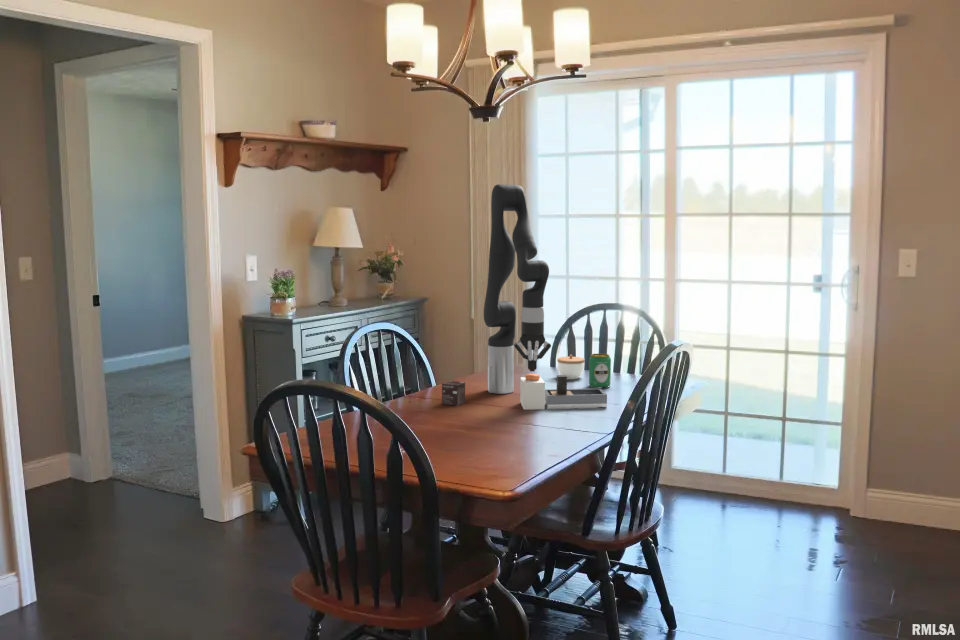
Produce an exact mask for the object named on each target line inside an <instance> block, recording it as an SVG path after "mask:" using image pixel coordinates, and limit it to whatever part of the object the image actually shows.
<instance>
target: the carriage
mask: <svg viewBox="0 0 960 640" xmlns="http://www.w3.org/2000/svg"><path fill="white" fill-rule="evenodd" d="M556 389H557V391H550V395H573V394H572V393H571V391H567V389H568V379H567V376H566V375H561V374H556Z"/></svg>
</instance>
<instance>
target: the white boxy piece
mask: <svg viewBox="0 0 960 640" xmlns="http://www.w3.org/2000/svg"><path fill="white" fill-rule="evenodd" d="M519 382H520V384H519V385H520V387H519V388H520V396H519V397H520V404H521V407H522V409H523V410H545V409H546V406H545V390H546V385H545V384H546V381H544V379H543V378H542V377H541V376H540V379H538V381H527V379H525V376H521V377H520V381H519Z"/></svg>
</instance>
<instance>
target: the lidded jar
mask: <svg viewBox="0 0 960 640" xmlns="http://www.w3.org/2000/svg"><path fill="white" fill-rule="evenodd" d="M556 360H557V369H558V372H559V375H566V376H567V380H578V379H579V377H581V376H582V375H583V372H584V369H585V362H586V361H585V360H586V359H585V358H584V357H579V356H573V354H569V356H561V357H557V359H556Z"/></svg>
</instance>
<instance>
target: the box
mask: <svg viewBox="0 0 960 640" xmlns="http://www.w3.org/2000/svg"><path fill="white" fill-rule="evenodd" d="M465 402H466V382H465V381H464V382H463V381H457V380H449V381H445V382H442V383H441V404H442V405H446V406H454V407H458V406H461V405H462V404H465Z"/></svg>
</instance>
